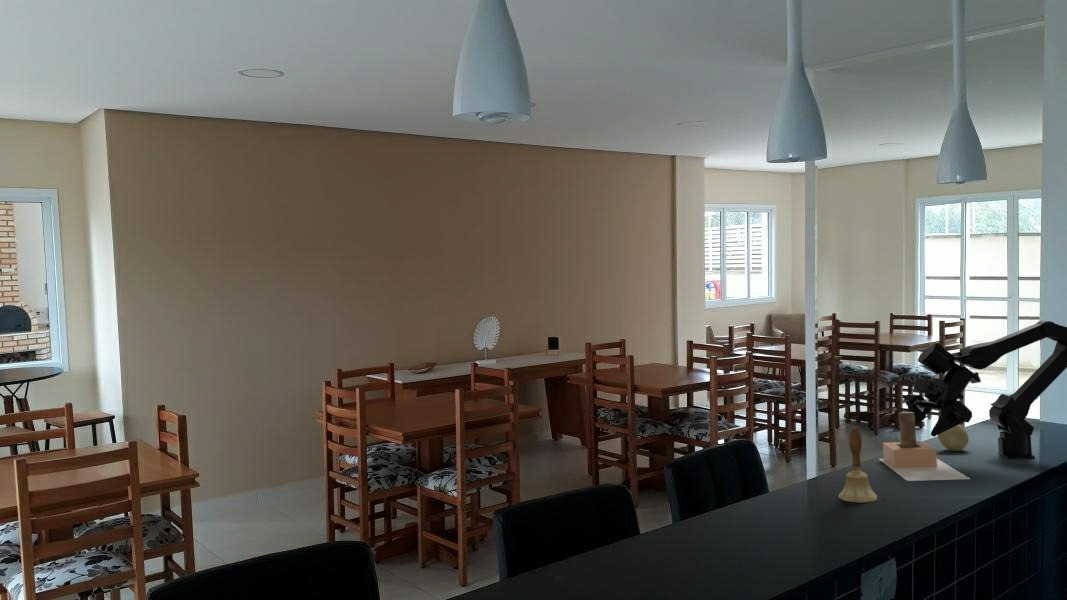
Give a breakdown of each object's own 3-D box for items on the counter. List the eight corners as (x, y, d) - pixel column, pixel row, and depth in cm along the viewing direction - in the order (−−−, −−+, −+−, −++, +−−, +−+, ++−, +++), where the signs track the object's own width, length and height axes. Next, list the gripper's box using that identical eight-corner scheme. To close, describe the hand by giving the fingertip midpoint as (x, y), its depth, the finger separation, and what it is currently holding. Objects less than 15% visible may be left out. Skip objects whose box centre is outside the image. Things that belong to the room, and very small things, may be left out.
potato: (934, 452, 217) (932, 423, 217) (945, 447, 223) (943, 418, 223) (963, 455, 212) (961, 425, 212) (974, 449, 217) (972, 420, 217)
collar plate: (934, 458, 210) (933, 440, 210) (970, 480, 186) (969, 459, 186) (878, 460, 212) (877, 442, 212) (907, 482, 188) (905, 461, 188)
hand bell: (871, 492, 182) (866, 423, 182) (883, 502, 174) (878, 429, 174) (833, 494, 183) (829, 425, 183) (844, 503, 175) (839, 431, 174)
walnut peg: (914, 461, 206) (911, 411, 206) (919, 464, 203) (916, 413, 203) (900, 461, 207) (897, 412, 207) (904, 464, 203) (901, 414, 203)
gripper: (907, 364, 216) (874, 409, 213) (958, 369, 198) (924, 418, 195) (933, 390, 218) (902, 434, 215) (987, 397, 199) (954, 446, 197)
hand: (919, 432), depth 205 cm, fingers open, 9 cm apart
